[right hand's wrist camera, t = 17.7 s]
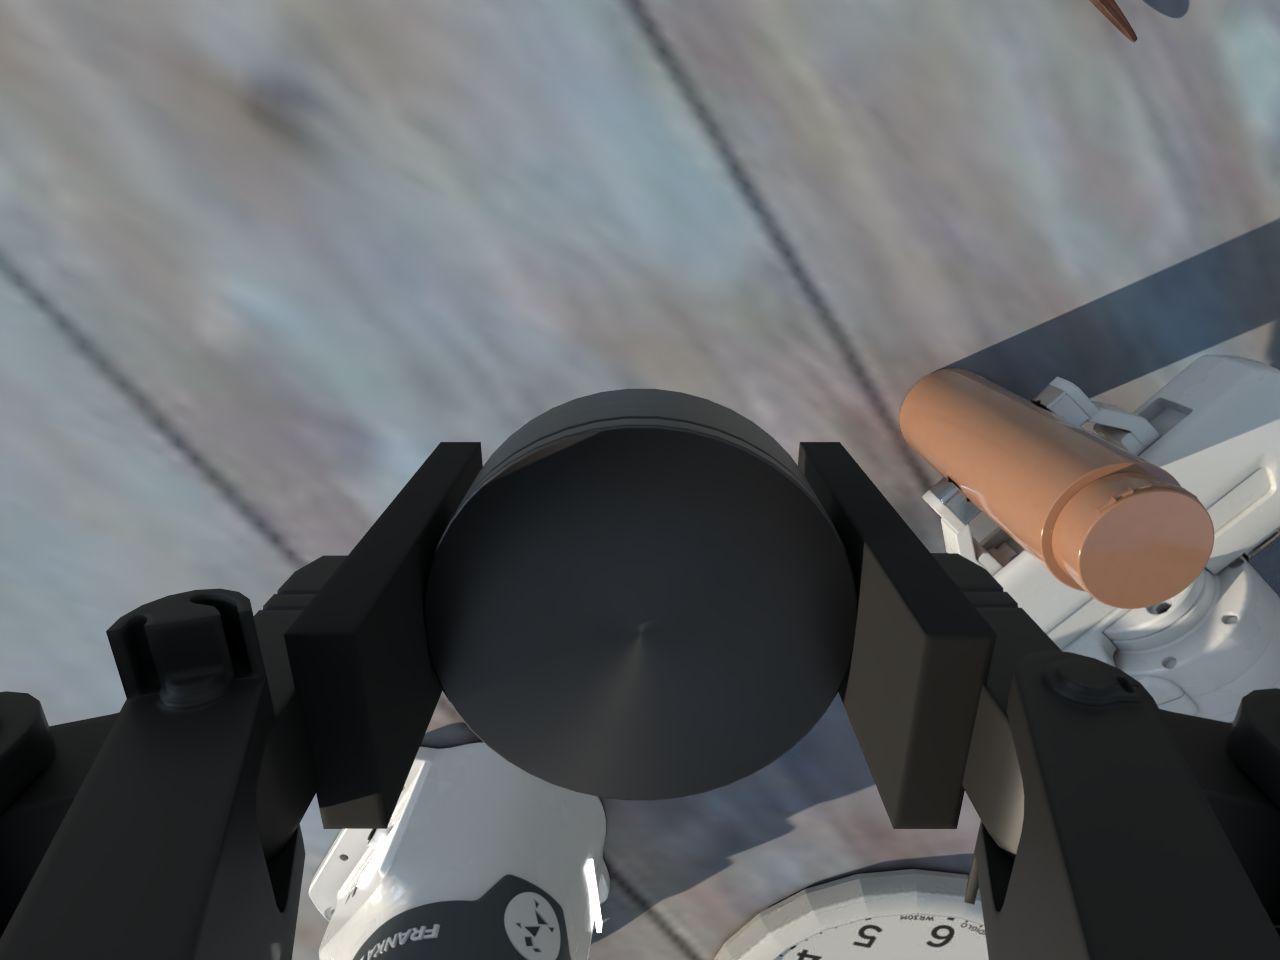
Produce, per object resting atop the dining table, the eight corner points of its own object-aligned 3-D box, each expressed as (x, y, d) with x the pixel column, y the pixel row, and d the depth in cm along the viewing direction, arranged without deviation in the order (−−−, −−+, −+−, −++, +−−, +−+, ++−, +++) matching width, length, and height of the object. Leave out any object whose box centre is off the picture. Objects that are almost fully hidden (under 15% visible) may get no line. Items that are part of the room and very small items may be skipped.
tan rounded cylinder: (1012, 414, 40) (1255, 552, 24) (936, 475, 41) (1120, 645, 25) (957, 347, 39) (1175, 448, 23) (880, 413, 40) (1037, 551, 24)
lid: (479, 350, 11) (445, 382, 9) (874, 429, 11) (920, 474, 9) (437, 685, 13) (404, 767, 11) (770, 741, 13) (791, 828, 11)
